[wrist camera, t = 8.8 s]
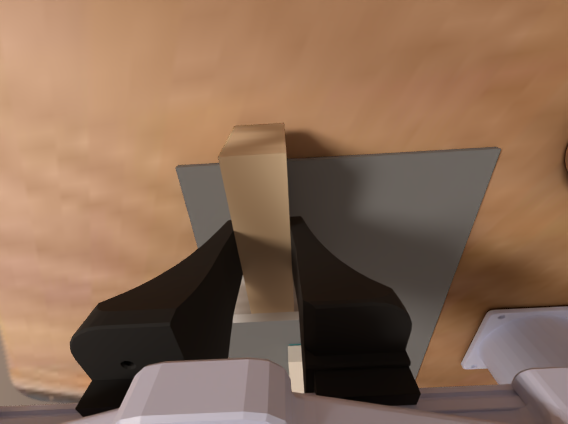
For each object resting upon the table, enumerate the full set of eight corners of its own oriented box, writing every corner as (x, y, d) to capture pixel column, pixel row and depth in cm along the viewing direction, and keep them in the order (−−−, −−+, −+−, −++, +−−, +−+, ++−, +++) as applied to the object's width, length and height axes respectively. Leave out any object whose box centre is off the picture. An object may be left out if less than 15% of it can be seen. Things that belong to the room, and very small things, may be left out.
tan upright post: (321, 120, 12) (337, 150, 9) (317, 266, 18) (326, 318, 14) (197, 128, 12) (166, 159, 9) (232, 271, 18) (221, 323, 14)
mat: (495, 147, 14) (501, 148, 14) (410, 384, 26) (412, 388, 26) (178, 165, 14) (175, 167, 14) (239, 391, 26) (239, 395, 26)
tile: (373, 358, 20) (363, 406, 24) (367, 339, 22) (359, 387, 26) (288, 362, 20) (292, 409, 24) (287, 343, 22) (291, 390, 26)
